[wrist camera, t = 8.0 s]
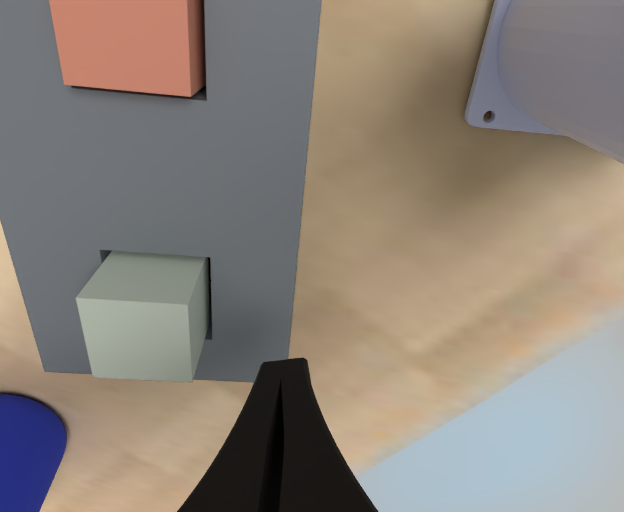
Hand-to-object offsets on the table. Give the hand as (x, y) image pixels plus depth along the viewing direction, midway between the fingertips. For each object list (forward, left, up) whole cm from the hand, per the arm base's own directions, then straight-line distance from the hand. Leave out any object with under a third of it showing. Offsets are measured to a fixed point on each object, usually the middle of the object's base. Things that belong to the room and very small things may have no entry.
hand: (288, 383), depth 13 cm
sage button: (+6, +2, -7) cm, 10 cm away
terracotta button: (+6, -9, -9) cm, 14 cm away
